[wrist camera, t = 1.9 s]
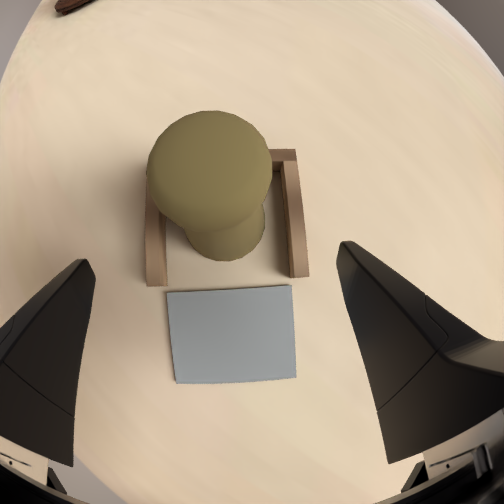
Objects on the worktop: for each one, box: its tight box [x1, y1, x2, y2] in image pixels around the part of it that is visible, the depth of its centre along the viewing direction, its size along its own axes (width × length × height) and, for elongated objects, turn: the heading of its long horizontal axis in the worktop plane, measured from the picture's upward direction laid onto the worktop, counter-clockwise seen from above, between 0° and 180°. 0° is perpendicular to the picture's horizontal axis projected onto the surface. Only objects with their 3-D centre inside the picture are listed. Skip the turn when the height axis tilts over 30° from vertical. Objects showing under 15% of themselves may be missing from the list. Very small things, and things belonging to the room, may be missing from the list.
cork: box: [146, 111, 272, 261], centre depth 14 cm, size 6×6×11 cm
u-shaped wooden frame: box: [145, 149, 309, 286], centre depth 19 cm, size 9×11×2 cm
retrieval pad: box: [167, 285, 296, 384], centre depth 19 cm, size 7×9×1 cm
